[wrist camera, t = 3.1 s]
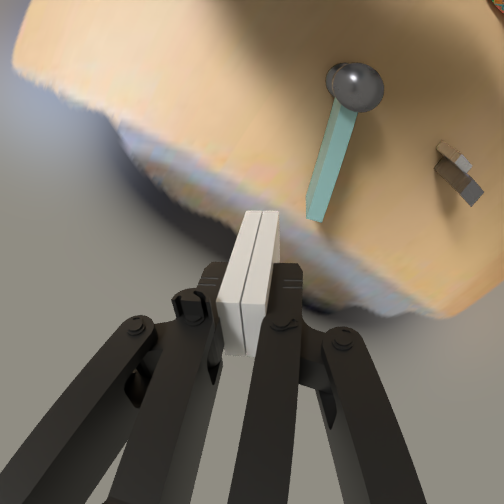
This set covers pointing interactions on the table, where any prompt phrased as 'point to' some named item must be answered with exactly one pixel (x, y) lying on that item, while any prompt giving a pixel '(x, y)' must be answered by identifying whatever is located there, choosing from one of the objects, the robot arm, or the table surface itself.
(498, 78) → the table surface
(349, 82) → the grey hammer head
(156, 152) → the table surface
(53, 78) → the table surface
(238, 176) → the table surface
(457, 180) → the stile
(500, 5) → the mug
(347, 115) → the teal rectangular bar
